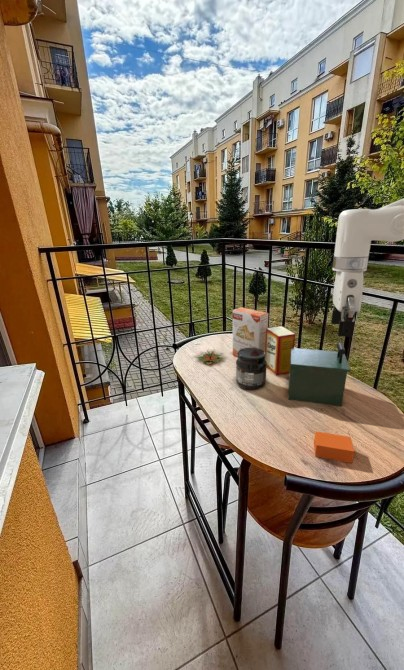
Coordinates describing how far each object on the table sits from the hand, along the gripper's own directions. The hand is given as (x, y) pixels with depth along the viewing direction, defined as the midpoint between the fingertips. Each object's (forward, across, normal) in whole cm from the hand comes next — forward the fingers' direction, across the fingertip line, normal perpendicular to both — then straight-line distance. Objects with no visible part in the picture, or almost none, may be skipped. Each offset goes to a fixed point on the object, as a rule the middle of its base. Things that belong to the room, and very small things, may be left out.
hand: (340, 329), depth 75 cm
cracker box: (+25, +31, +27) cm, 49 cm away
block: (+25, -18, +2) cm, 31 cm away
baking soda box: (+25, +24, +15) cm, 38 cm away
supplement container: (+25, +11, +24) cm, 37 cm away
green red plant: (+25, +27, +43) cm, 57 cm away
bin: (+25, +9, +4) cm, 27 cm away
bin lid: (+13, +9, +3) cm, 16 cm away
